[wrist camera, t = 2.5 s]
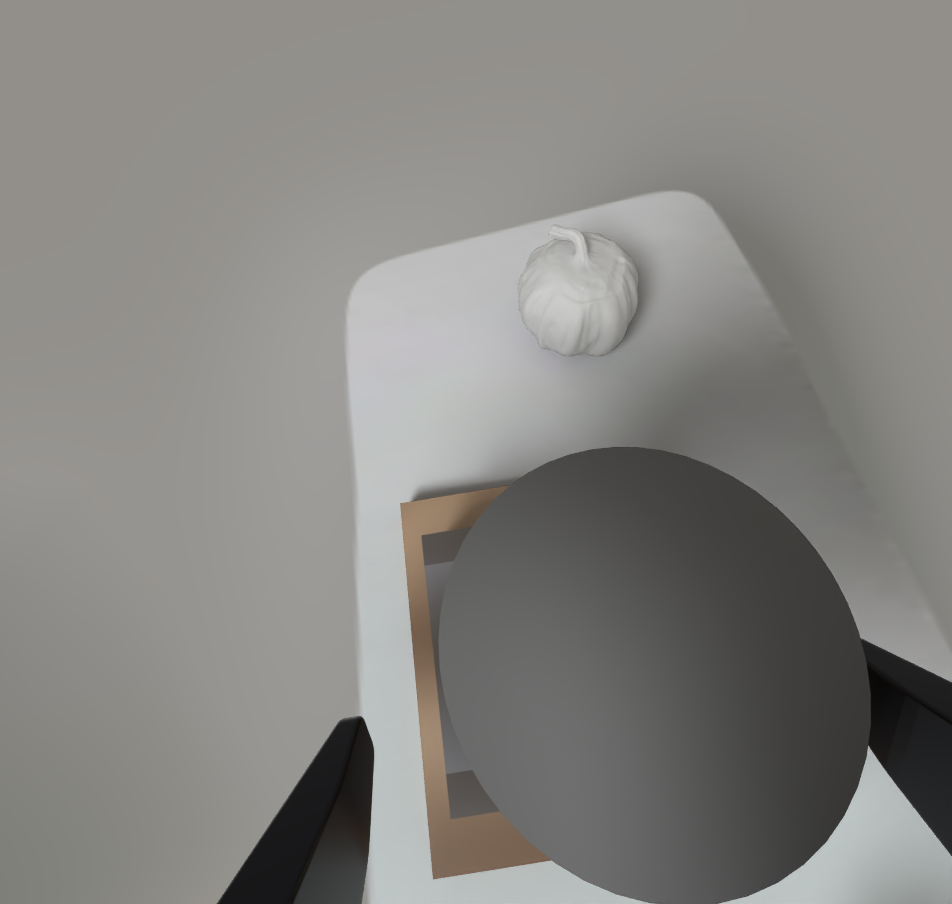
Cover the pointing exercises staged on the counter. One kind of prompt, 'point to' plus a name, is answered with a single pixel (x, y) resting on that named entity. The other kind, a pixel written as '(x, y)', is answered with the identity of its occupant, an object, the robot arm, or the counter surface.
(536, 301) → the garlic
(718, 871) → the grey-topped tan cylinder
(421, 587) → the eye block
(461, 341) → the counter surface
